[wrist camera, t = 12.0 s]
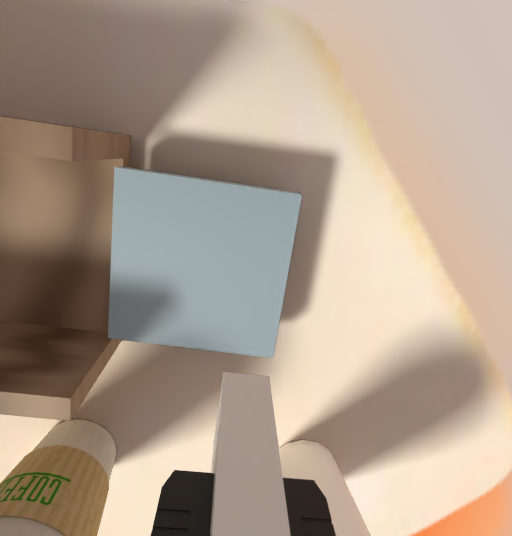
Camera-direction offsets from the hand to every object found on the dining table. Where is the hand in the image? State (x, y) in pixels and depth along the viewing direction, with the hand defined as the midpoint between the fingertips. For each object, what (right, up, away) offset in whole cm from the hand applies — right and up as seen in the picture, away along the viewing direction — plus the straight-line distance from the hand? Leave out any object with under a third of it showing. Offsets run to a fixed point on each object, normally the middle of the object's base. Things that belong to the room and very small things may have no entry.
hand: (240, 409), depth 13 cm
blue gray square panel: (-9, +6, +14) cm, 18 cm away
